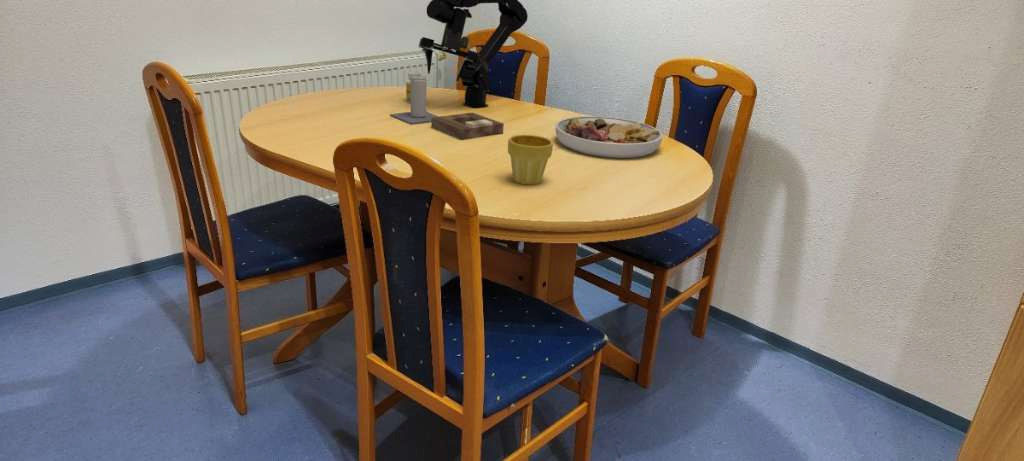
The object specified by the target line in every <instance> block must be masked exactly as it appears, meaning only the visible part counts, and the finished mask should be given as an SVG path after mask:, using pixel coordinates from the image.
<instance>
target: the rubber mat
mask: <svg viewBox="0 0 1024 461" xmlns="http://www.w3.org/2000/svg"><path fill="white" fill-rule="evenodd" d="M389 116H390V117H391V118H394V119H397V120H398V121H401V122H404V123H406V124H408V125H411V126H412V125H419V124H426V123H431V118H432V117H440V116H438V115H436V114H433V113H430V112H427V111H426V116H425V117H424V118H414V117H412V116H411V111H407V112H398V113H397V112H396V113H390V114H389Z"/></svg>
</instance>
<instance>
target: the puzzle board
mask: <svg viewBox="0 0 1024 461" xmlns="http://www.w3.org/2000/svg"><path fill="white" fill-rule="evenodd" d="M430 123H431V124H430V127H431V128H432V129H433V130H436V131H438V132H441V133H443V134H446V135H448V136H451V137H453V138H456V139H458V140H460V141H464V140H465V141H466V140H470V139H475V138H476V139H477V138H483V137H489V136H490V137H492V136H496V135H502V134H504V125H505V124H504V123H503V122H501V121H498V120H495V119H492V118H489V117H486V116H484V115H481V114H479V113H475V112H465V113H457V114H449V115H442V116H439V117H432V118H431V122H430Z"/></svg>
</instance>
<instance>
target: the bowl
mask: <svg viewBox="0 0 1024 461" xmlns="http://www.w3.org/2000/svg"><path fill="white" fill-rule="evenodd" d="M554 129H555V136H556V138H557V140H558V142H560V143H561V144H562V145H563V146H564V147H566V148H568V149H570V150H572V151H575V152H578V153H580V154H585V155H589V156H593V157H599V158H606V159H607V158H609V159H632V158H633V159H635V158H640V157H644V156H648V155H650V154H652V153H654V152H655V151H656V150H657V149H658V148H659V147H660V146H661V144H662V140H663V136H664V135H663V133H662V131H661V130H659V129H658V128H655V127H653V126H652V125H648V124H647V123H642V122H639V121H635V120H629V119H623V118H617V117H610V116H575V117H568V118H565V119H561V120H559V121H557V122H556V123H555V128H554Z"/></svg>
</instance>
